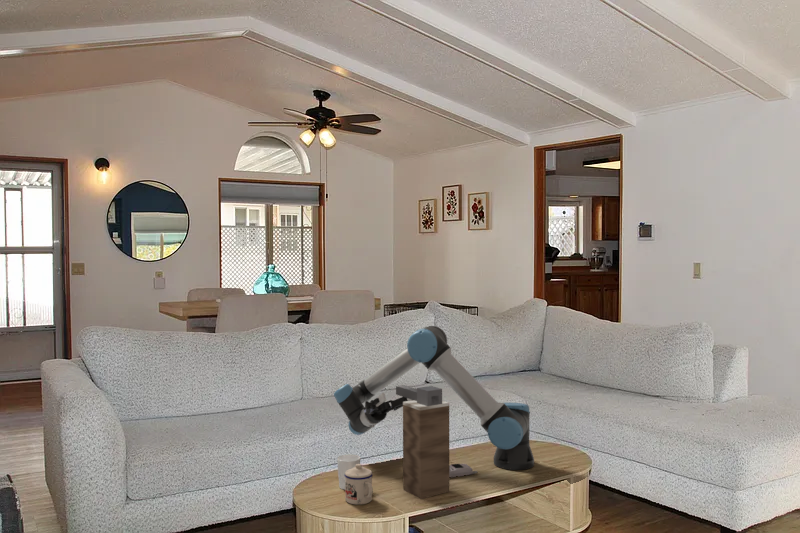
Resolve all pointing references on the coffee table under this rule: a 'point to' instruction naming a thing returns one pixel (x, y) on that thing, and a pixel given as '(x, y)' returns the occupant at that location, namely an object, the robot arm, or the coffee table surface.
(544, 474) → the coffee table surface
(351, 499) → the teacup with lid
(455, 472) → the mobile phone
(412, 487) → the brown wooden tall block
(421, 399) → the gray block
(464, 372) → the robot arm
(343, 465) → the white cup
